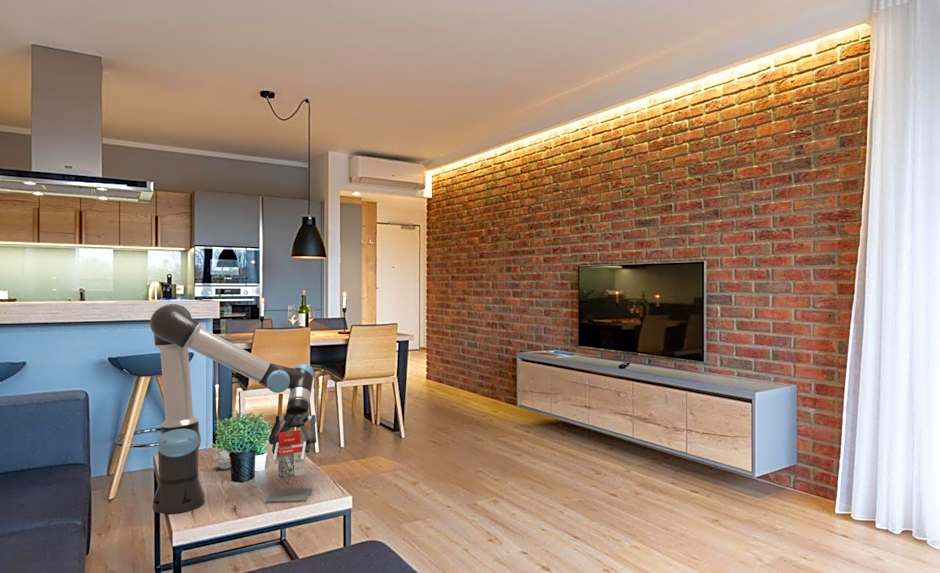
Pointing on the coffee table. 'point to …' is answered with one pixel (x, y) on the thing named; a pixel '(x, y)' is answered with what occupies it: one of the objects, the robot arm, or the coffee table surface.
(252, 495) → the coffee table surface
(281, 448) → the ink box
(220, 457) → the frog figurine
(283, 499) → the mat
